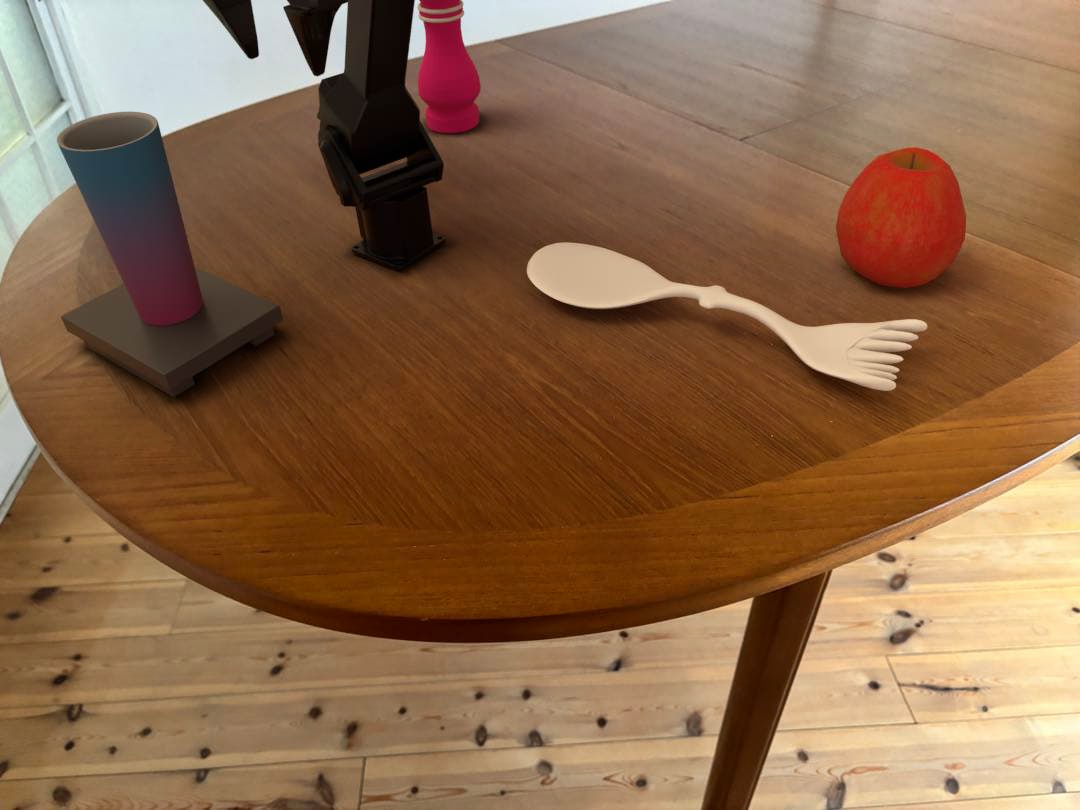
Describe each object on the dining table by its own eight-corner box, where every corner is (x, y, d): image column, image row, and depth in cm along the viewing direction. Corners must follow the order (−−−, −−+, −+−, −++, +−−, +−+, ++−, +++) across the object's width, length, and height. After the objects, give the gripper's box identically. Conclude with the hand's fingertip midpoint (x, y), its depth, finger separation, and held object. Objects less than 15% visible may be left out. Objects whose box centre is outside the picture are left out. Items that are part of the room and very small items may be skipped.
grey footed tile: (287, 335, 76) (279, 304, 74) (176, 406, 69) (164, 374, 67) (184, 286, 82) (174, 256, 81) (73, 346, 76) (60, 316, 74)
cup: (231, 292, 76) (177, 115, 66) (180, 338, 71) (115, 155, 61) (162, 280, 77) (101, 107, 68) (109, 324, 73) (34, 145, 63)
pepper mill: (492, 128, 107) (477, -60, 94) (432, 140, 105) (408, -50, 92) (472, 107, 112) (455, -74, 99) (415, 118, 110) (390, -65, 97)
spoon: (886, 420, 64) (896, 381, 62) (508, 300, 78) (505, 265, 76) (920, 353, 70) (931, 316, 68) (563, 253, 84) (562, 219, 82)
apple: (845, 228, 85) (865, 119, 78) (962, 250, 81) (994, 138, 74) (816, 282, 78) (836, 168, 72) (943, 309, 74) (976, 191, 68)
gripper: (391, -128, 78) (414, 57, 88) (247, -143, 87) (283, 26, 97) (294, -101, 71) (331, 95, 81) (148, -121, 80) (198, 59, 90)
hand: (285, 66), depth 88 cm, fingers open, 9 cm apart
